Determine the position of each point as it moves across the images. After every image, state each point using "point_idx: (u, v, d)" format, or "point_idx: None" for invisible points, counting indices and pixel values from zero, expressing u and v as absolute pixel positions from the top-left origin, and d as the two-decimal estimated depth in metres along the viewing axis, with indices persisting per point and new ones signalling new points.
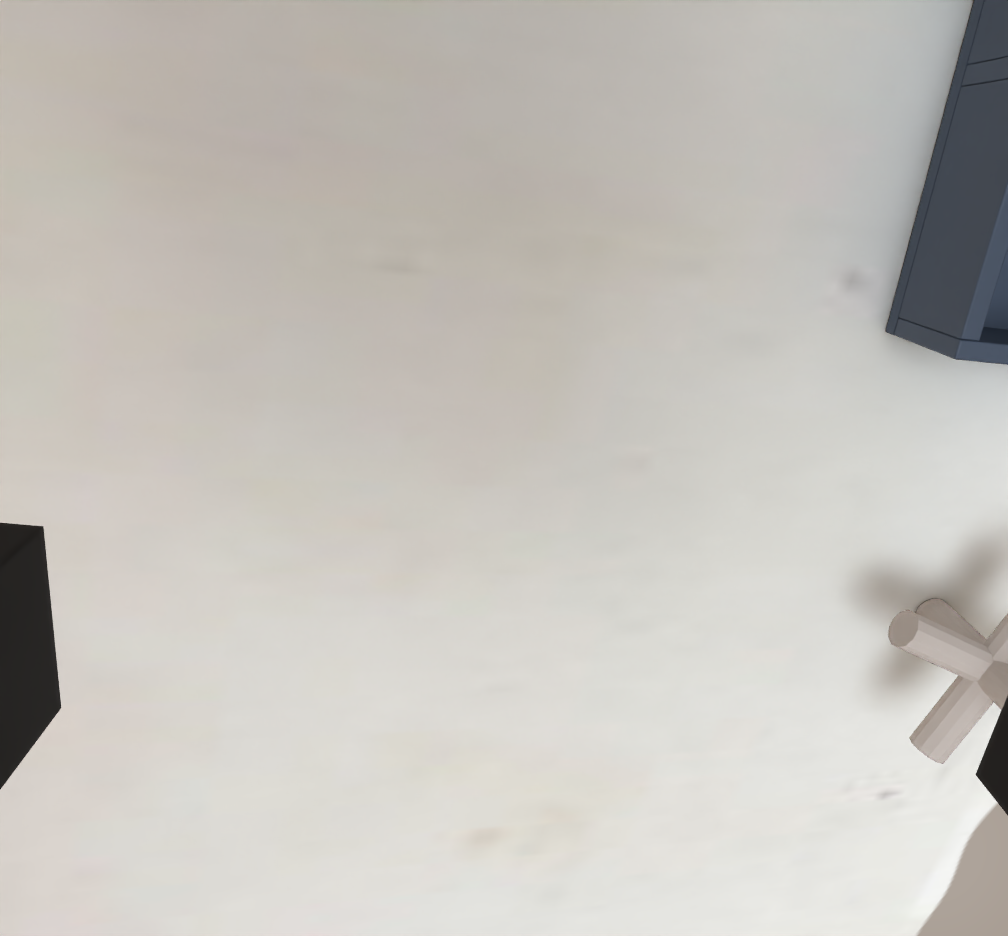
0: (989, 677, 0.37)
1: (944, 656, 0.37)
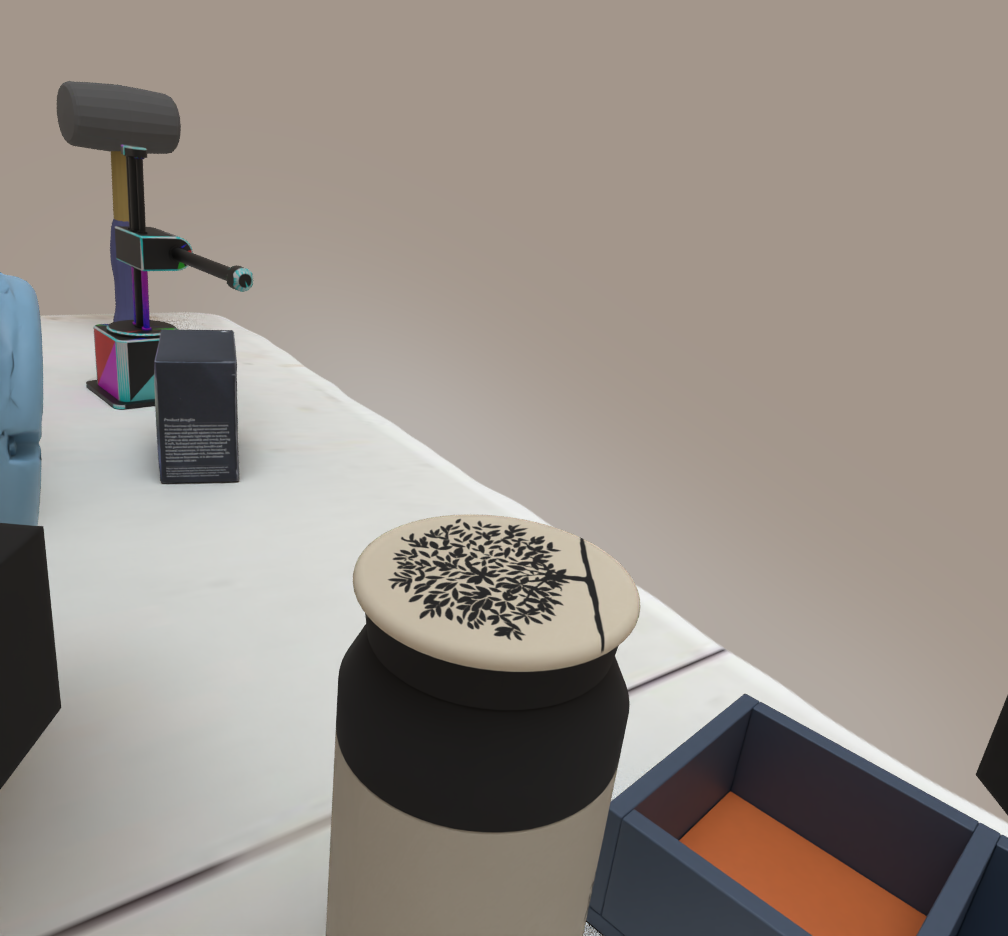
0: None
1: None
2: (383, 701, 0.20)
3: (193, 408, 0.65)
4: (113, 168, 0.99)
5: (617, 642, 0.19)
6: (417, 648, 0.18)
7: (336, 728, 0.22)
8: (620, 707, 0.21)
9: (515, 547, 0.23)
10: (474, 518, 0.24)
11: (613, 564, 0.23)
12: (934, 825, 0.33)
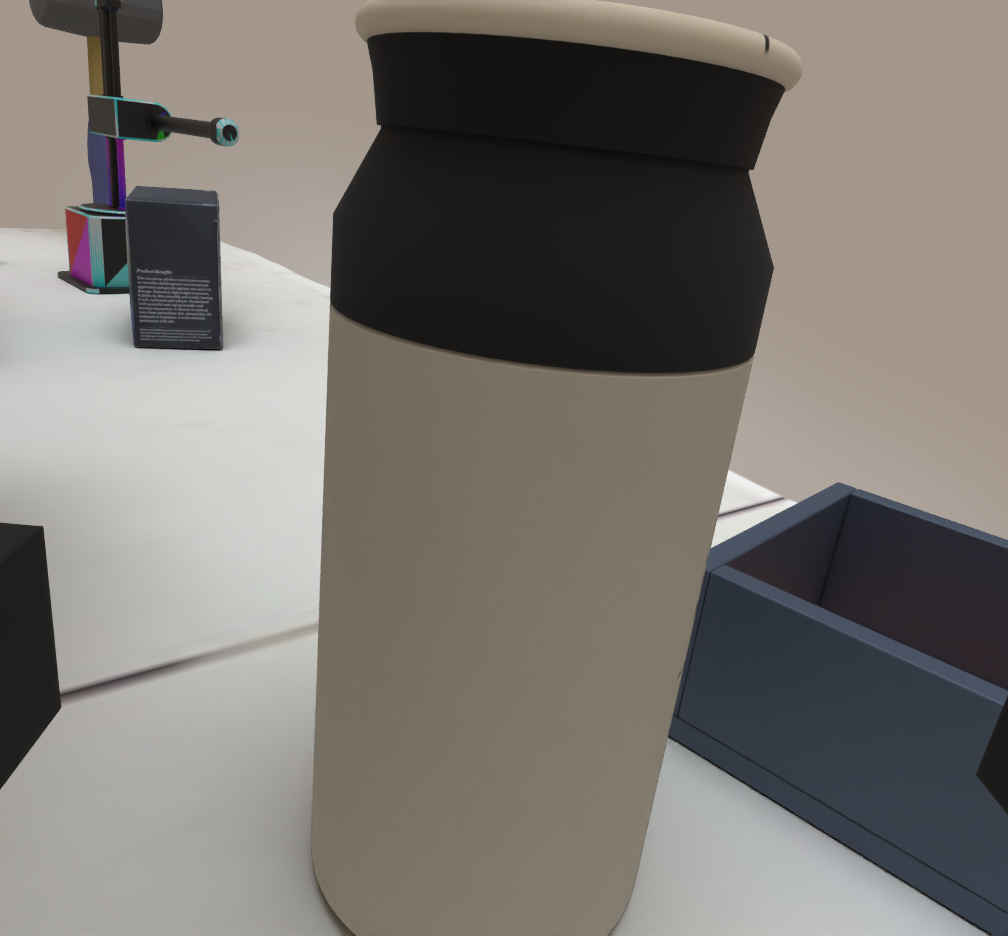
0: None
1: None
2: (404, 175, 0.12)
3: (170, 258, 0.57)
4: (90, 55, 0.91)
5: (785, 56, 0.12)
6: (465, 15, 0.11)
7: (330, 296, 0.15)
8: (765, 240, 0.14)
9: None
10: None
11: None
12: None
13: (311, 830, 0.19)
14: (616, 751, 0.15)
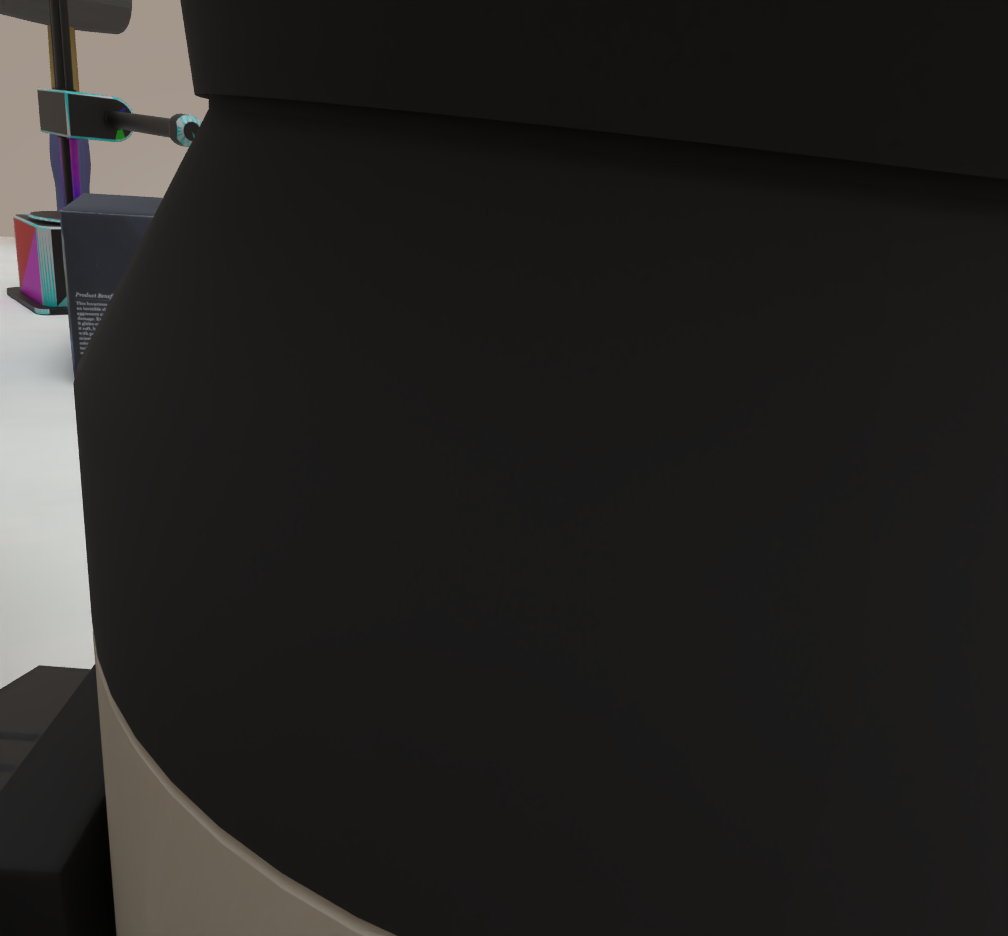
0: None
1: None
2: (221, 267, 0.03)
3: (116, 280, 0.48)
4: (50, 46, 0.82)
5: None
6: None
7: None
8: None
9: None
10: None
11: None
12: None
13: None
14: None
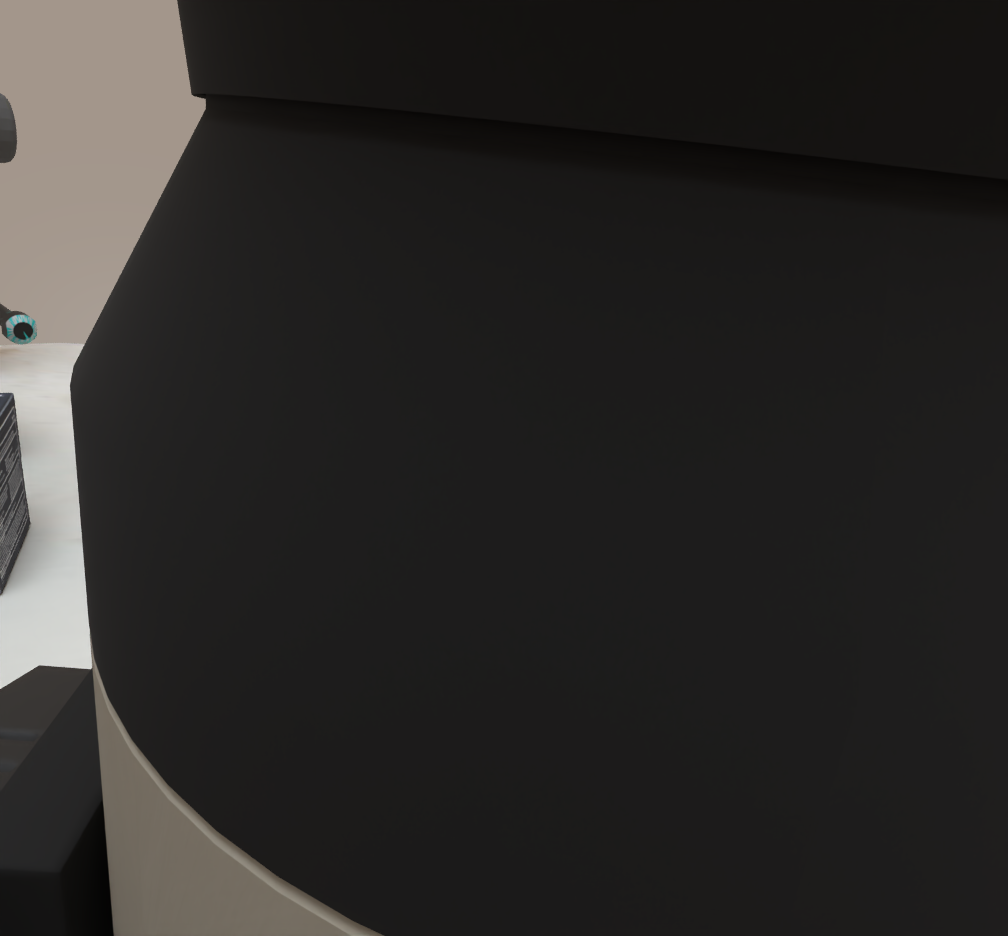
0: None
1: None
2: (219, 268, 0.03)
3: None
4: None
5: None
6: None
7: None
8: None
9: None
10: None
11: None
12: None
13: None
14: None
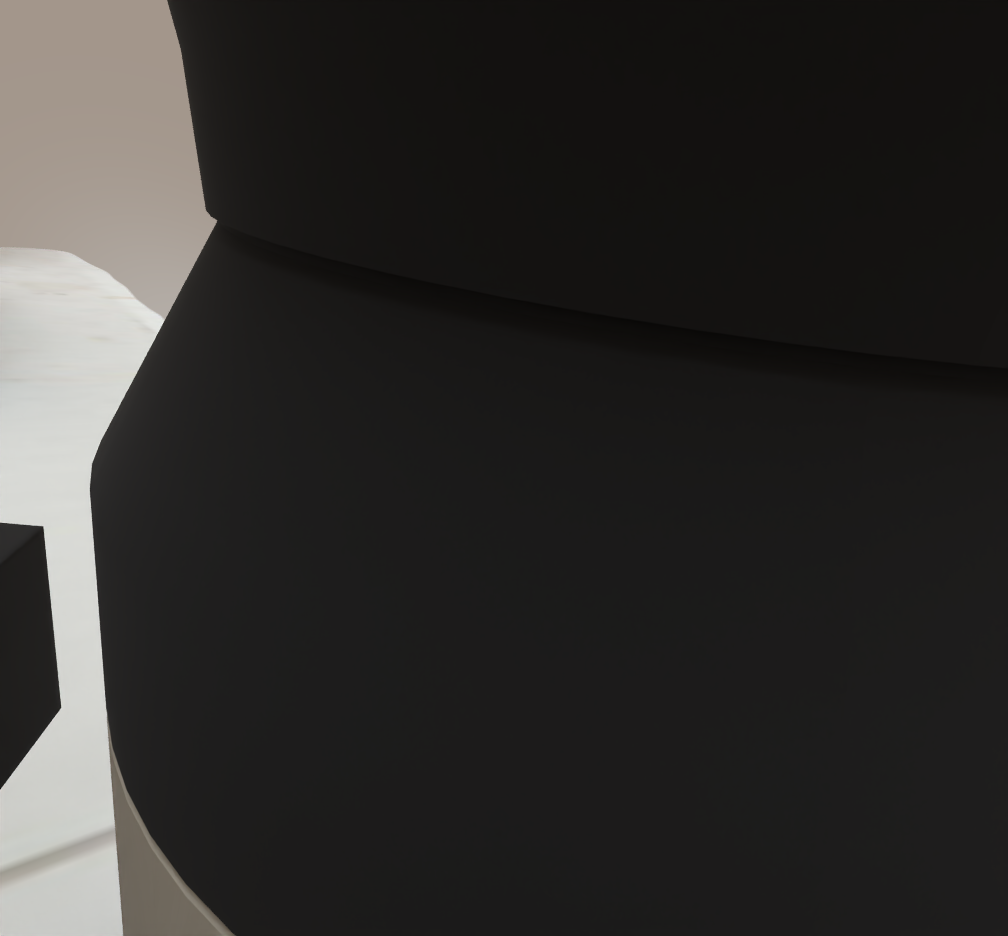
0: None
1: None
2: (235, 405, 0.04)
3: None
4: None
5: None
6: None
7: None
8: None
9: None
10: None
11: None
12: None
13: None
14: None
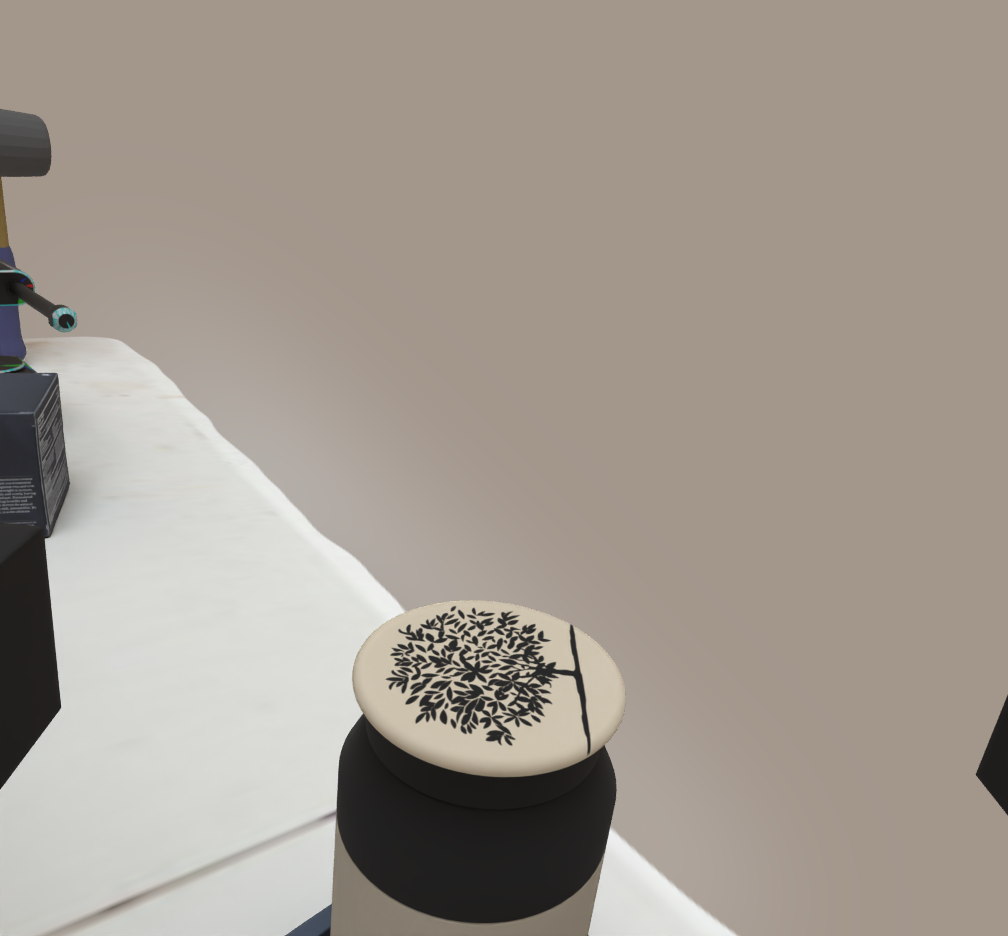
0: None
1: None
2: (381, 797, 0.21)
3: None
4: None
5: (603, 743, 0.20)
6: (413, 754, 0.19)
7: (336, 814, 0.23)
8: (607, 796, 0.22)
9: (507, 638, 0.24)
10: (468, 604, 0.25)
11: (601, 655, 0.24)
12: None
13: None
14: None
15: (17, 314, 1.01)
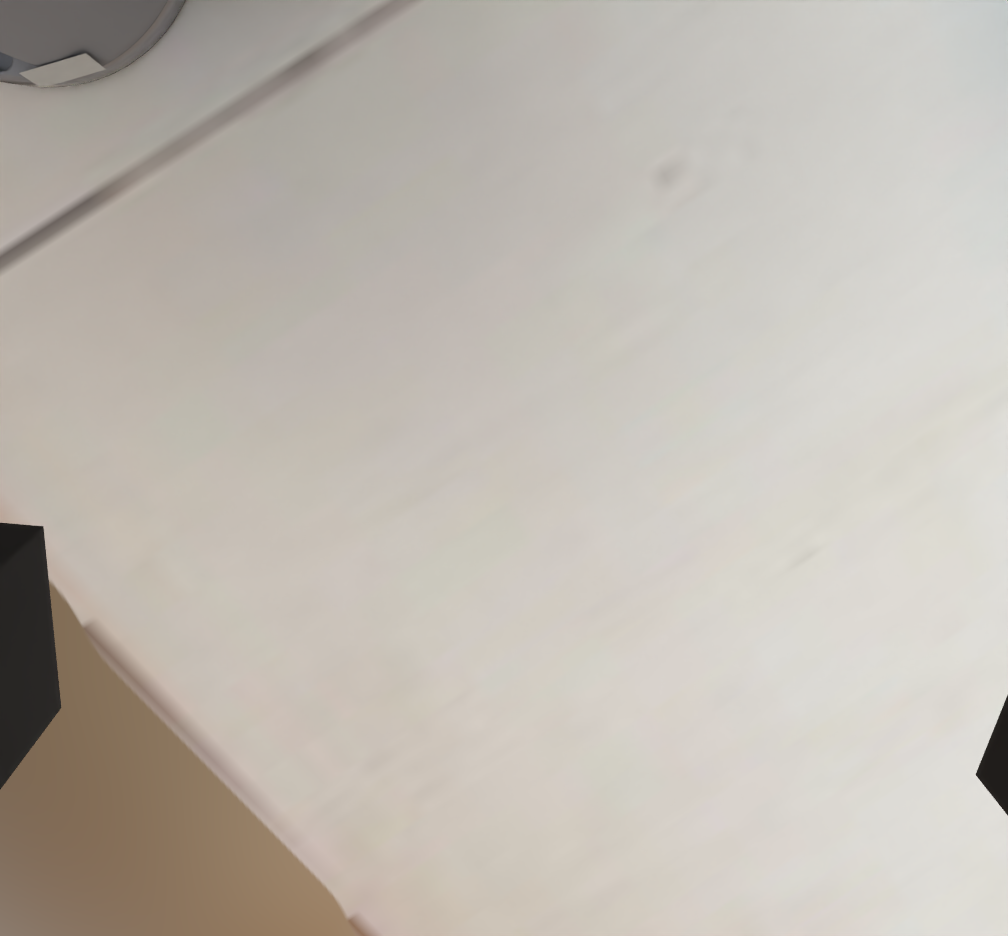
0: None
1: None
2: None
3: None
4: None
5: None
6: None
7: None
8: None
9: None
10: None
11: None
12: None
13: None
14: None
15: None
